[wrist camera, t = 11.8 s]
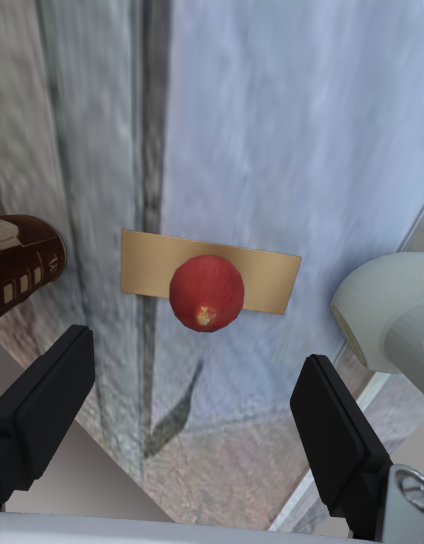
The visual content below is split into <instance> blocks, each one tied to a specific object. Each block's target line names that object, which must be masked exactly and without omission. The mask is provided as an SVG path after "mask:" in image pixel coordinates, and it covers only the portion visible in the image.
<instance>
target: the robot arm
mask: <svg viewBox="0 0 424 544" xmlns="http://www.w3.org/2000/svg"><path fill="white" fill-rule="evenodd" d="M94 381H95V364H94V346H93V332H92V330H89V327H88V326H82V325H71V326H70V327H69V328H68V329H67V330H66V332H65V333H64V334H63V335H62V336H61V337H60V338H59V339H58V340H57V341H56V342H55V343H54V344H53V345H52V346H51V348H50V349H49V350H48V351H47V352H46V353H45V354H44V355H42V356H40V357H38V358H37V359H36V360H35V361H34V362H33V363H32V364H31V365H30V366H29V367H28V368H27V370H26V371H25V372H24V373H23V374H22V375H21V376H20V377H19V378H18V379H17V380H16V381H15V382H14V383H13V384H12V385H11V386H10V388H8V389H7V390H6V392H5V393H4V394H3V395H2V396H1V397H0V544H424V476H423V475H422V474H421V473H420V472H418V471H417V470H415V469H413V468H411V467H410V466H407V465H403V464H393V463H392V461H391V459H390V458H389V457H390V456H389V454H388V453H387V451H386V449H385V448H384V446H383V445H382V443H381V441H380V440H379V438H378V437H377V435H376V433H375V432H374V430H373V429H372V427H371V426H370V424H369V422H368V421H367V419H366V418H365V416H364V414H363V413H362V411H361V410H360V408H359V406H358V405H357V403H356V402H355V400H354V398H353V397H352V395H351V394H350V392H349V391H348V389H347V387H346V386H345V384H344V383H343V381H342V379H341V378H340V376H339V375H338V373H337V371H336V370H335V368H334V367H333V365H332V363H331V362H330V360H329V359H328V357H327V356H325V355H317V354H311V355H310V357H307V358H306V360H305V363H304V365H303V368H302V370H301V373H300V375H299V378H298V381H297V383H296V386H295V388H294V391H293V393H292V396H291V398H290V408H291V411H292V414H293V417H294V420H295V423H296V426H297V429H298V432H299V435H300V438H301V441H302V444H303V447H304V450H305V453H306V456H307V459H308V462H309V465H310V468H311V471H312V474H313V477H314V480H315V483H316V486H317V489H318V492H319V495H320V498H321V500H322V502H323V503H324V504H325V505H327V508H328V511H329V514H330V516H331V517H340V518H346V521H347V524H348V526H349V534H348V538H340V537H331V536H322V535H311V534H300V533H288V532H276V531H265V530H253V529H242V528H229V527H217V526H204V525H192V524H179V523H167V522H153V521H141V520H127V519H114V518H100V517H87V516H73V515H55V514H38V513H37V514H36V513H18V512H5V502H6V501H8V499H9V498H10V496H11V494H12V493H13V491H14V490H21V491H28V490H29V488H30V487H31V485H32V483H33V481H34V480H35V479H39V478H40V477H41V476H42V475H43V473H44V471H45V470H46V468H47V466H48V464H49V462H50V461H51V459H52V457H53V455H54V454H55V452H56V450H57V448H58V447H59V445H60V443H61V441H62V440H63V438H64V436H65V434H66V432H67V431H68V429H69V427H70V425H71V424H72V422H73V420H74V418H75V417H76V415H77V413H78V411H79V410H80V408H81V406H82V404H83V403H84V401H85V399H86V397H87V395H88V394H89V392H90V390H91V388H92V387H93V384H94Z"/></svg>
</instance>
